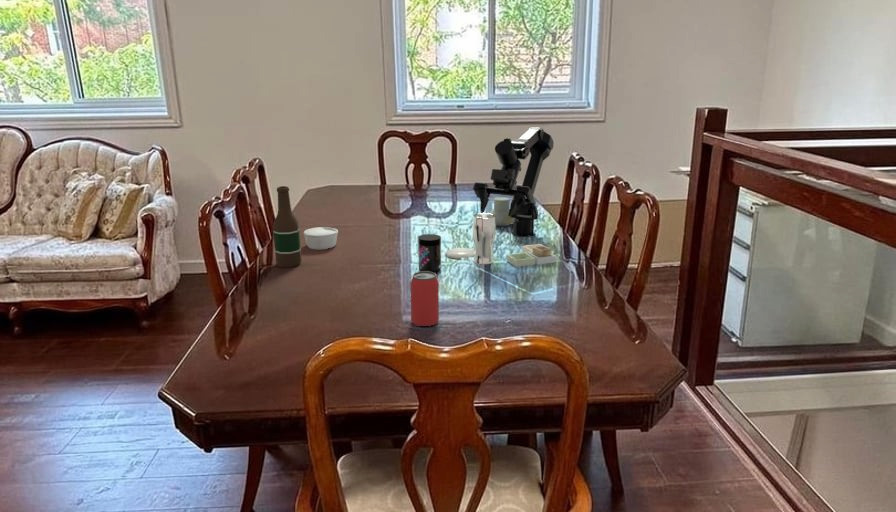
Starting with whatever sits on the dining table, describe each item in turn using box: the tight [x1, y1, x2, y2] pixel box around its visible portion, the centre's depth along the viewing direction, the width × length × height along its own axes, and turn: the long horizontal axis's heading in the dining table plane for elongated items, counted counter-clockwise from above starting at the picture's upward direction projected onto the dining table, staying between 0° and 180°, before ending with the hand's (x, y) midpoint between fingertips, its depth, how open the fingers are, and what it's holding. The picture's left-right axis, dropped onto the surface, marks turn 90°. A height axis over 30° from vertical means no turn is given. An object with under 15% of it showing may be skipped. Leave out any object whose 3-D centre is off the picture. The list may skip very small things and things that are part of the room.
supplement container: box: [417, 233, 442, 274], centre depth 180 cm, size 7×7×10 cm
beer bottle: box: [272, 185, 302, 269], centre depth 184 cm, size 8×8×24 cm
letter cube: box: [533, 245, 552, 258], centre depth 189 cm, size 4×4×4 cm
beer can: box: [409, 271, 440, 327], centre depth 144 cm, size 7×7×12 cm
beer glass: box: [472, 212, 497, 265], centre depth 187 cm, size 7×7×15 cm
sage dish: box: [506, 252, 536, 268], centre depth 187 cm, size 6×6×2 cm
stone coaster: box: [445, 247, 475, 260], centre depth 197 cm, size 10×10×1 cm
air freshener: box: [488, 196, 515, 227], centre depth 232 cm, size 11×8×10 cm
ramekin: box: [303, 226, 339, 251], centre depth 206 cm, size 11×11×5 cm
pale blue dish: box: [528, 252, 557, 266], centre depth 189 cm, size 6×6×2 cm
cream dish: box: [521, 243, 544, 254], centre depth 196 cm, size 6×6×2 cm
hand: (495, 214), depth 192 cm, fingers open, 9 cm apart
